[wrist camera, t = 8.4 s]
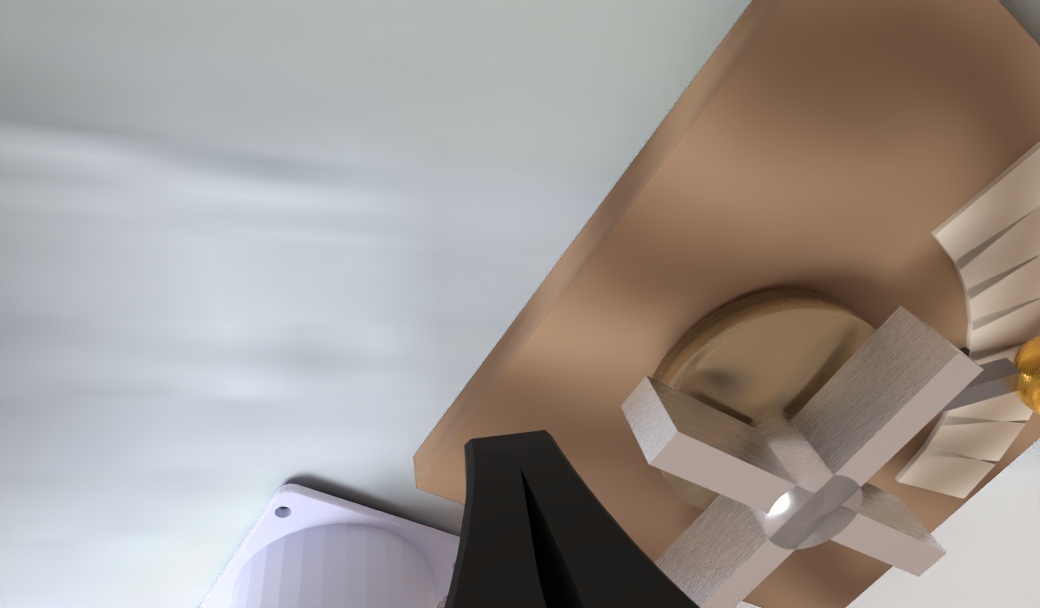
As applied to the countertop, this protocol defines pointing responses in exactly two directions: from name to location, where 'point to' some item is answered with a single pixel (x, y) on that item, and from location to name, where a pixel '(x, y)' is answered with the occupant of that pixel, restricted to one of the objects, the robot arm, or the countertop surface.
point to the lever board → (794, 253)
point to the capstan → (800, 432)
